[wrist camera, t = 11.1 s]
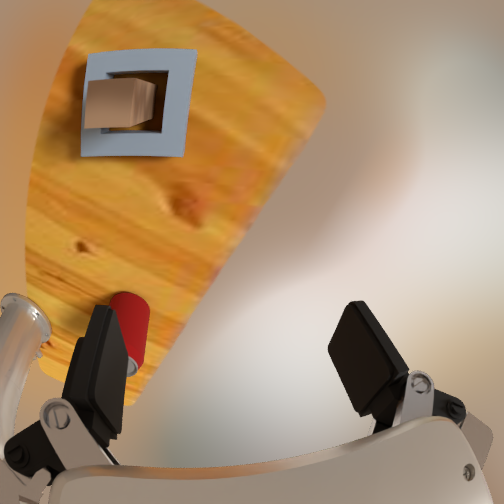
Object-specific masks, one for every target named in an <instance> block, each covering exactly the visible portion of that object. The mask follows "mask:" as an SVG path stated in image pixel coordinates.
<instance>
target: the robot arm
mask: <svg viewBox="0 0 504 504" xmlns="http://www.w3.org/2000/svg"><path fill="white" fill-rule="evenodd" d="M1 312H2V315H1V317H0V504H39V501H40V498H41V497H42V495H43V493H42V491H43V490H44V488H45V487H46V486H50V485H52V486H51V490H50V494H49V502H48V504H493V500H492V497H491V494H490V491H489V488H488V485H487V483H486V480H485V478H484V475H483V473H482V468H483V466H484V463H485V461H486V458H487V455H488V452H489V450H490V447H491V443H492V441H493V433H492V431H491V429H490V428H489V427H488V426H487V425H485V424H484V423H483V422H481V421H480V420H479V419H477V418H476V417H475V416H473V415H472V414H471V413H470V412H467V413H466V409H465V406H464V404H463V402H461V400H459V399H458V398H456V397H453V396H451V395H448V394H446V393H444V392H441V391H439V390H436V389H434V383H433V381H432V379H431V378H430V377H429V375H427V374H426V373H424V372H422V371H413V372H411V373H410V374H409V373H408V371H409V368H408V366H407V365H406V363H405V362H404V360H403V358H402V357H401V355H400V354H399V352H398V351H397V349H396V348H395V346H394V345H393V343H392V341H391V340H390V338H389V337H388V335H387V334H386V333H385V331H384V330H383V328H382V326H381V325H380V323H379V322H378V321H377V319H376V318H375V316H374V315H373V313H372V312H371V310H370V309H369V308H368V306H367V305H366V303H365V302H364V301H352V302H350V303H349V304H348V305H347V306H346V307H345V309H344V312H343V314H342V316H341V319H340V321H339V323H338V325H337V328H336V330H335V332H334V334H333V337H332V339H331V341H330V343H329V345H328V353H329V355H330V357H331V359H332V362H333V364H334V366H335V368H336V370H337V372H338V374H339V377H340V379H341V381H342V383H343V385H344V387H345V390H346V392H347V394H348V396H349V398H350V401H351V403H352V405H353V408H354V410H355V411H356V412H358V413H359V415H360V417H363V416H366V415H369V414H372V416H373V420H372V423H371V426H370V430H369V433H368V436H367V437H364V438H362V439H358V440H355V441H353V442H349V443H346V444H343V445H339V446H336V447H332V448H329V449H325V450H321V451H318V452H313V453H309V454H305V455H300V456H296V457H291V458H286V459H280V460H275V461H268V462H262V463H255V464H246V465H237V466H226V467H210V468H156V467H140V466H124V465H121V464H120V463H119V461H118V460H117V459H116V458H115V456H114V455H113V454H112V453H111V451H110V450H109V449H108V446H109V440H110V439H115V440H116V439H117V434H120V433H121V430H122V415H123V404H124V394H125V385H126V377H127V369H128V361H129V357H128V352H127V349H126V345H125V342H124V339H123V335H122V332H121V328H120V325H119V321H118V317H117V314H116V311H115V310H112V309H111V306H107V305H96V306H95V308H94V311H93V313H92V316H91V319H90V322H89V325H88V328H87V331H86V334H85V337H80V338H79V339H78V340H77V343H76V346H75V349H74V352H73V356H72V359H71V362H70V366H69V369H68V373H67V377H66V381H65V385H64V389H63V393H62V397H61V398H53V399H50V400H48V401H46V402H45V403H44V404H43V406H42V407H41V410H40V420H39V421H37V422H35V423H34V424H32V425H31V426H29V427H27V428H26V429H24V430H23V431H21V432H20V433H18V434H16V435H15V436H14V426H15V419H16V413H17V409H18V405H19V401H20V397H21V394H22V391H23V387H24V384H25V381H26V378H27V375H28V372H29V369H30V367H31V364H32V361H33V360H35V359H36V358H37V356H38V358H41V357H42V356H43V354H42V353H41V351H40V346H41V344H42V343H44V342H47V341H48V340H49V338H50V336H51V333H52V328H51V324H50V322H49V320H48V318H47V316H46V315H45V314H44V312H43V311H42V310H41V309H40V308H39V307H38V306H37V305H36V304H35V303H34V302H33V301H31V300H30V299H28V298H27V297H25V296H22V295H20V294H16V293H9V294H6V295H5V296H4V298H3V299H2V301H1Z"/></svg>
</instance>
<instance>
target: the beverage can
mask: <svg viewBox="0 0 504 504" xmlns="http://www.w3.org/2000/svg"><path fill="white" fill-rule="evenodd" d="M109 306H111V309H112V310H115V311H116V314H117V317H118V321H119V325H120V328H121V332H122V335H123V339H124V342H125V345H126V349H127V352H128V357H129V361H128V369H127V377H130V376H133V375H135V374H136V373H137V370H138V369H139V368H140V367H141V366H142V364H143V362H144V354H145V346H146V338H147V330H148V323H149V315H150V309H149V306H148V304H147V303H146V301H145V300H144V299H142V298H141V297H139V296H138V295H135V294H132V293H119V294H117V295H115V296H114V297H113V298H112V299H111V301H110V304H109Z"/></svg>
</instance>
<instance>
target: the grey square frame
mask: <svg viewBox="0 0 504 504" xmlns="http://www.w3.org/2000/svg"><path fill="white" fill-rule="evenodd" d="M196 60H197V50H194V49H133V50H119V51H109V52H100V53H93V54H89V55H88V61H87V67H86V75H85V83H84V93H83V104H82V121H81V157H88V156H170V157H183V155H184V151H185V141H186V132H187V123H188V114H189V106H190V99H191V92H192V85H193V78H194V72H195V66H196ZM132 73H169V74H168V81H167V89H166V96H165V105H164V114H163V123H162V131H159V130H121V131H109V128H87V129H84V124H85V109H86V97H87V88H88V81H92V80H103V79H114V75H115V74H132Z"/></svg>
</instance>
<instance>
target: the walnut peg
mask: <svg viewBox="0 0 504 504" xmlns="http://www.w3.org/2000/svg"><path fill="white" fill-rule="evenodd" d="M157 86H158V85H155V84H152V83H149V82H146V81H143V80H140V79H137V78H117V79H103V80H92V81H88V88H87V97H86V109H85V124H84V129H87V128H109V127H131V126H134V125H136V124H139V123H142V122H144V121H147V120H150V119H153V118H154V109H155V101H156V93H157Z"/></svg>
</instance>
